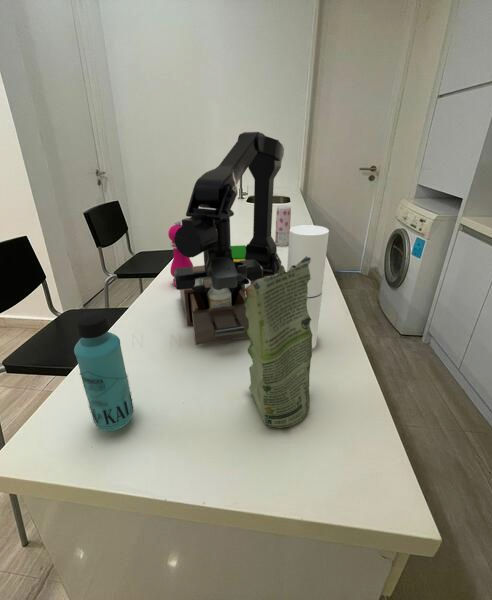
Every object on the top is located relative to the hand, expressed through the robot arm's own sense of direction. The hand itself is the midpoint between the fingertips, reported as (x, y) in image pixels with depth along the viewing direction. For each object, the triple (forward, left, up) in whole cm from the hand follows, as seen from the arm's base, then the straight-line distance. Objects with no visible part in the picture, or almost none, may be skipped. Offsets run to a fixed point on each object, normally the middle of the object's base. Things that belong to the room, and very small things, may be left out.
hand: (219, 308), depth 75 cm
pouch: (0, +26, -6) cm, 26 cm away
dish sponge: (-25, -44, -6) cm, 51 cm away
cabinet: (-2, -12, -6) cm, 13 cm away
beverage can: (-48, -51, -6) cm, 70 cm away
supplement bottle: (0, 0, -3) cm, 3 cm away
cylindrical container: (-14, +12, -6) cm, 19 cm away
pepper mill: (0, -30, -6) cm, 31 cm away
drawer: (0, +1, -5) cm, 5 cm away
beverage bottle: (+26, +18, -6) cm, 33 cm away
